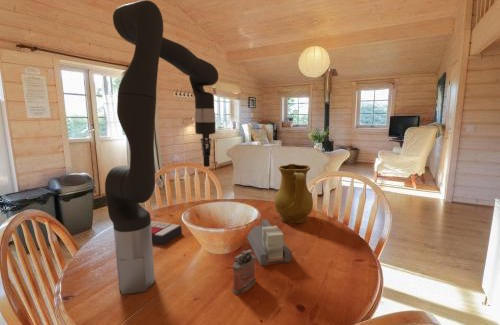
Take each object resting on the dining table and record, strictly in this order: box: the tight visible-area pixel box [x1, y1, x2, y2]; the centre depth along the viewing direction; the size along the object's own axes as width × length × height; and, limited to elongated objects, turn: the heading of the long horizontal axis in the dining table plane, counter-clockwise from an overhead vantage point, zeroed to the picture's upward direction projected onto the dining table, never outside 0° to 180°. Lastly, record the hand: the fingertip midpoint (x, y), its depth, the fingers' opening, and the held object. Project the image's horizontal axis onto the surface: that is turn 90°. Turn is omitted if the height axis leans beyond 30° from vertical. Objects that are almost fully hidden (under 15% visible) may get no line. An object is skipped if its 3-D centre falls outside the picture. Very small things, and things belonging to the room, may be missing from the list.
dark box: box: [151, 221, 183, 246], centre depth 106 cm, size 11×4×15 cm
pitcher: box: [274, 163, 314, 224], centre depth 120 cm, size 17×19×25 cm
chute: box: [246, 219, 292, 266], centre depth 99 cm, size 28×10×4 cm, turn 13°
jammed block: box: [262, 225, 284, 260], centre depth 88 cm, size 7×5×8 cm
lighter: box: [232, 249, 257, 295], centre depth 73 cm, size 8×3×10 cm, turn 141°
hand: (206, 166), depth 105 cm, fingers closed
